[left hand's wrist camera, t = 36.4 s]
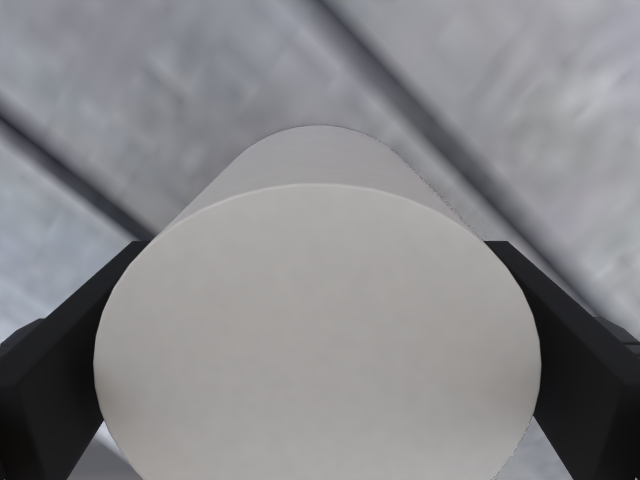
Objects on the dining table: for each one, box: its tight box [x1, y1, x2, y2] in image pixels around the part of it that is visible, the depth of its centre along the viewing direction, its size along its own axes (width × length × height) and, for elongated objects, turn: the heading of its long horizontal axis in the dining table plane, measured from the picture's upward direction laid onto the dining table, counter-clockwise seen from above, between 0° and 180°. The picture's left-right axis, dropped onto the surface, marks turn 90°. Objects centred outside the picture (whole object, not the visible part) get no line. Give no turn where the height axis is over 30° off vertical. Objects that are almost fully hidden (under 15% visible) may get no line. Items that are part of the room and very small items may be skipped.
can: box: [93, 125, 541, 480], centre depth 13 cm, size 9×9×9 cm
